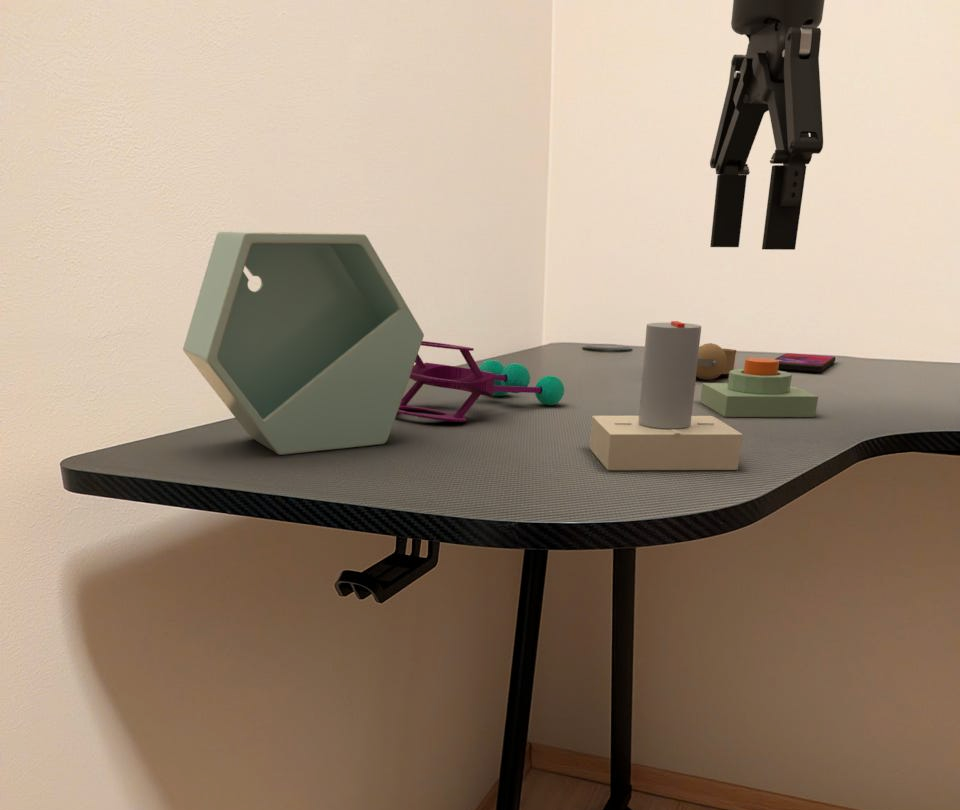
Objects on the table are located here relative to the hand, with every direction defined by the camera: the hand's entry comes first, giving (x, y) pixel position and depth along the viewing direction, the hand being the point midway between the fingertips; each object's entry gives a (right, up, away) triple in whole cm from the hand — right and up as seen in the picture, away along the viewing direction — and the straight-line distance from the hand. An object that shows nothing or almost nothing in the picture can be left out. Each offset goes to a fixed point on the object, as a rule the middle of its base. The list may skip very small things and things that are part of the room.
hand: (749, 248), depth 85 cm
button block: (+6, -11, +16) cm, 20 cm away
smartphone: (+23, +4, +50) cm, 56 cm away
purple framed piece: (-26, -12, +14) cm, 32 cm away
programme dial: (-10, -18, -8) cm, 22 cm away
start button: (+6, -8, +15) cm, 18 cm away
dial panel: (-10, -21, -7) cm, 24 cm away
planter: (-41, -19, -3) cm, 45 cm away
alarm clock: (+4, 0, +40) cm, 40 cm away
